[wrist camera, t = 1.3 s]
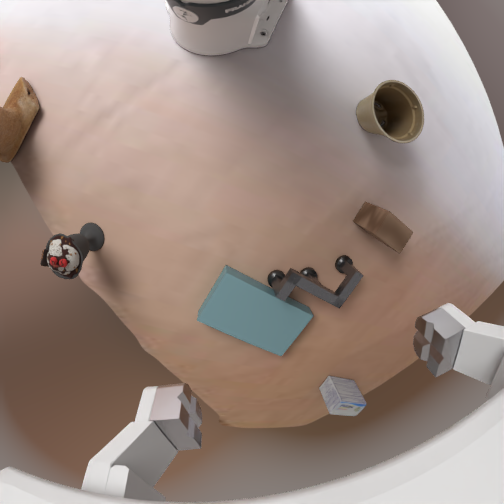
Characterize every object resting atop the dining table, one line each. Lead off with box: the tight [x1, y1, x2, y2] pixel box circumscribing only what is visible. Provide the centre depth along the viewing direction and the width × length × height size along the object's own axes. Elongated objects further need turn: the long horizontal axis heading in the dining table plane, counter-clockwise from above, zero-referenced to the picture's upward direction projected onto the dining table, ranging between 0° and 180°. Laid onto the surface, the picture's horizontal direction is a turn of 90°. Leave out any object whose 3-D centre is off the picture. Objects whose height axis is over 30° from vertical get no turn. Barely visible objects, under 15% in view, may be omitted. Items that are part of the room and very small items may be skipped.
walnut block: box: [353, 202, 413, 253], centre depth 41 cm, size 4×6×8 cm, turn 59°
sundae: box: [41, 223, 104, 279], centre depth 35 cm, size 7×7×15 cm
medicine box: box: [319, 376, 366, 416], centre depth 54 cm, size 8×4×9 cm, turn 65°
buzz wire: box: [268, 255, 363, 308], centre depth 44 cm, size 11×12×6 cm
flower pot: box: [356, 80, 424, 143], centre depth 35 cm, size 9×9×9 cm
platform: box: [197, 265, 313, 356], centre depth 47 cm, size 10×17×3 cm, turn 59°
